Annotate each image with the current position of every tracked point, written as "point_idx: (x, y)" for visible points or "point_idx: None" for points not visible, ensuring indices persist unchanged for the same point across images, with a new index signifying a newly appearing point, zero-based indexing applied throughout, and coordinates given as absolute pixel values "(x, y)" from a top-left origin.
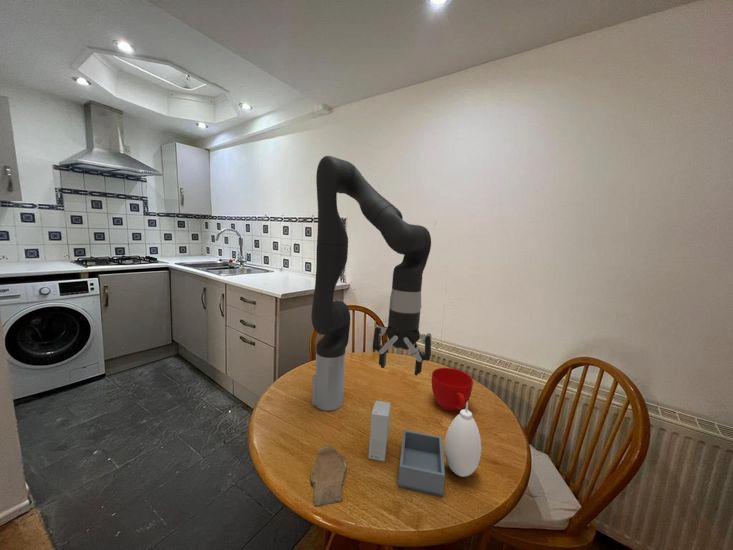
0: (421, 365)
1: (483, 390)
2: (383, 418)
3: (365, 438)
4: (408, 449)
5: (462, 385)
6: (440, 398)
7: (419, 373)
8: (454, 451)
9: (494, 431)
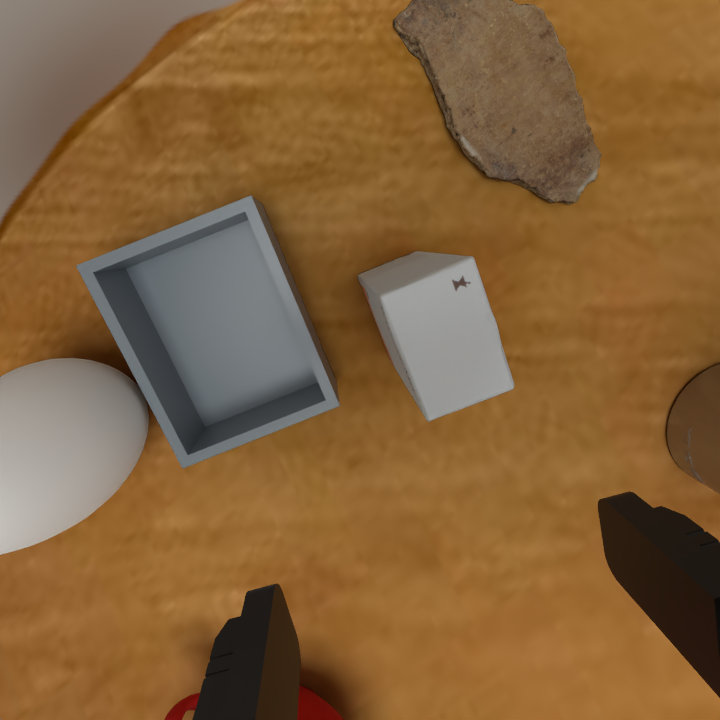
0: (202, 715)
1: None
2: (401, 283)
3: None
4: (307, 379)
5: None
6: (299, 710)
7: (231, 621)
8: (55, 373)
9: (78, 678)
